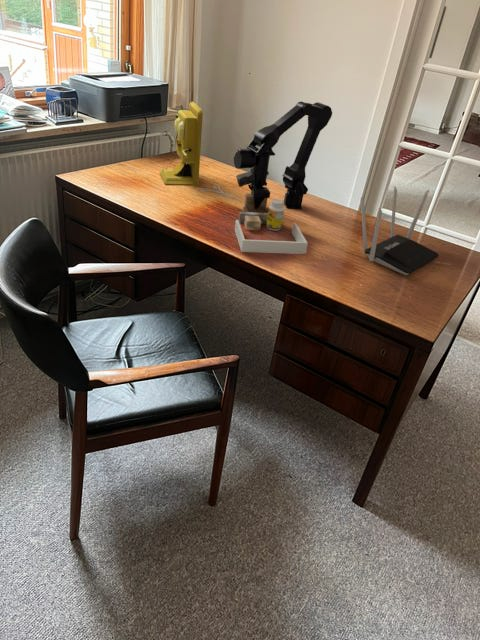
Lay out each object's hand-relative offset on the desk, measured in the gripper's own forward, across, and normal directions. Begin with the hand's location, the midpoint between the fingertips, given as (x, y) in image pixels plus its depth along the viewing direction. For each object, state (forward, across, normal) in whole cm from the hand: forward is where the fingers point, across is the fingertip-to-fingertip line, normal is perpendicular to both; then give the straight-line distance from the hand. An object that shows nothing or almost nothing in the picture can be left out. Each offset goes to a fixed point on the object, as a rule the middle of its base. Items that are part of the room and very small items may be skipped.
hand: (255, 207), depth 186 cm
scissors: (+2, -16, -11) cm, 20 cm away
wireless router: (+1, +36, +43) cm, 56 cm away
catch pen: (+1, +29, 0) cm, 29 cm away
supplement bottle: (+1, +17, +4) cm, 18 cm away
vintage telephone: (+1, -32, -29) cm, 43 cm away
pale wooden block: (+1, +17, -4) cm, 18 cm away
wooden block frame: (+1, +6, 0) cm, 6 cm away
